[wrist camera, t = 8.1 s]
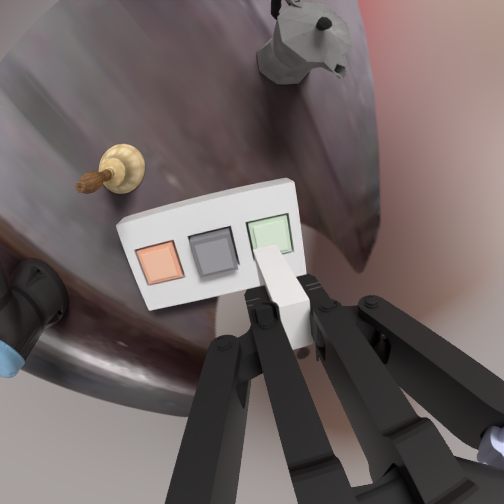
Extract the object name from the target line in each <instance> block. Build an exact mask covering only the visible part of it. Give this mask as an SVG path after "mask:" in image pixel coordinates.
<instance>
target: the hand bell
mask: <svg viewBox="0 0 504 504" xmlns="http://www.w3.org/2000/svg"><path fill="white" fill-rule="evenodd" d="M144 173H145V162H144V159H143V156H142V155H141V153H140V152H139V151H138V150H137V149H136V148H135V147H133V146H131V145H128V144H118V145H115V146H113V147H111V148H110V149H108V150H107V151H106V152H105V154H104V155H103V156H102V159H101V161H100V165H99V172H98V171H91V172H88V173H85V174H84V175H83V176H82V177H81V178H80V180H79V181H78V183H77V184H76V190H77V192H79V193H86V194H89V193H93V192H95V191H96V190H98V189H99V188H100V187H101V186H102V184H103V185H104V186H105V187H106V188H107V189H108V190H110V191H112V192H114V193H118V194H124V193H128V192H131V191H132V190H134V189H135V188H136V187H137V186H138V185H139V184H140V183H141V181H142V179H143V177H144Z"/></svg>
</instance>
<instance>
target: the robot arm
mask: <svg viewBox="0 0 504 504" xmlns="http://www.w3.org/2000/svg"><path fill="white" fill-rule="evenodd" d="M253 253H254V258H255V263H256V268H257V273H258V278H259V283H260V286H259V287H255V288H251V289H247V291H246V293H245V295H244V296H245V300H246V304H247V309H248V313H249V318H250V322H251V327H250V329H249V330H248V332H247V333H245V334H244V335H242V336H240V337H238V338H237V337H235V336H233V335H222V336H219V337H217V338H215V339H214V340H213V341H212V342H211V344H210V345H209V348H208V352H207V355H206V359H205V362H204V365H203V369H202V372H201V376H200V379H199V382H198V386H197V389H196V393H195V396H194V400H193V403H192V407H191V410H190V414H189V417H188V421H187V425H186V428H185V432H184V435H183V439H182V442H181V446H180V449H179V453H178V456H177V460H176V464H175V467H174V471H173V475H172V478H171V482H170V486H169V489H168V493H167V497H166V501H165V504H235V502H236V495H237V487H238V480H239V473H240V466H241V458H242V450H243V443H244V435H245V426H246V419H247V411H248V403H249V395H250V387H251V379H253V378H255V377H257V376H258V375H260V374H262V373H263V374H264V378H265V382H266V386H267V390H268V394H269V397H270V402H271V405H272V409H273V413H274V417H275V421H276V424H277V428H278V432H279V436H280V440H281V443H282V447H283V451H284V454H285V458H286V462H287V465H288V469H289V473H290V477H291V480H292V483H293V487H294V491H295V494H296V498H297V501H298V504H504V381H503V380H502V379H501V378H499V377H498V376H496V375H495V374H494V373H492V372H491V371H489V370H488V369H487V368H485V367H484V366H483V365H481V364H480V363H478V362H477V361H475V360H474V359H473V358H471V357H470V356H468V355H467V354H465V353H464V352H462V351H461V350H460V349H458V348H457V347H455V346H454V345H452V344H451V343H450V342H448V341H447V340H445V339H444V338H442V337H441V336H439V335H438V334H436V333H435V332H433V331H432V330H430V329H429V328H427V327H426V326H424V325H423V324H421V323H420V322H418V321H417V320H415V319H414V318H412V317H410V316H409V315H408V314H406V313H404V312H403V311H401V310H400V309H399V308H397V307H395V306H394V305H392V304H391V303H389V302H388V301H386V300H385V299H383V298H381V297H379V296H375V295H369V296H365V297H362V298H361V299H360V300H359V302H358V305H357V306H342V305H341V304H340V303H339V302H338V301H336V300H333V299H331V298H330V297H329V296H328V294H327V293H326V291H325V290H324V289H323V287H322V286H321V285H320V283H319V282H318V280H317V279H316V278H315V277H314V276H312V275H310V274H305V275H301V276H297V277H296V276H295V275H294V273H293V271H292V270H291V268H290V267H289V265H288V263H287V262H286V260H285V258H284V257H283V255H282V254H281V252H280V250H279V249H278V247H277V245H276V244H275V245H270V246H266V247H262V248H257V249H253ZM67 306H68V297H67V292H66V289H65V287H64V284H63V282H62V281H61V279H60V277H59V276H58V274H57V273H56V272H55V271H54V270H53V269H52V268H51V267H50V266H49V265H48V264H46V263H45V262H43V261H41V260H38V259H35V258H28V259H25V260H23V261H22V262H21V263H19V264H18V265H17V266H16V267H15V269H14V270H13V272H12V274H11V277H10V279H9V281H8V280H7V278H6V275H5V273H4V270H3V267H2V265H1V262H0V376H1V377H4V378H11V377H14V376H15V375H16V374H17V373H18V371H19V370H20V369H21V367H22V366H23V365H24V363H25V360H26V358H27V357H28V355H29V353H30V352H31V350H32V348H33V347H34V345H35V343H36V342H37V340H38V339H39V337H40V335H41V334H42V332H43V331H44V330H46V329H47V328H49V327H51V326H52V325H54V324H56V323H57V322H58V321H59V320H60V319H61V318H62V317H63V315H64V314H65V312H66V310H67ZM382 334H383V335H384V336H383V335H382ZM312 337H313V339H314V341H315V344H316V360H317V361H319V358H320V360H321V362H322V364H323V366H324V368H325V370H326V373H327V375H328V377H329V379H330V381H331V383H332V385H333V387H334V389H335V392H336V394H337V396H338V398H339V400H340V402H341V404H342V406H343V409H344V411H345V413H346V415H347V417H348V419H349V421H350V423H351V425H352V428H353V430H354V432H355V434H356V437H357V439H358V441H359V443H360V445H361V447H362V450H363V452H364V454H365V456H366V458H367V461H368V464H369V471H370V476H371V479H372V481H373V484H368V485H363V486H358V487H351V486H350V483H349V481H348V478H347V476H346V474H345V471H344V468H343V466H342V464H341V462H340V460H339V459H338V458H337V457H336V456H335V455H334V453H333V450H332V448H331V445H330V443H329V441H328V438H327V435H326V433H325V430H324V428H323V425H322V423H321V420H320V417H319V415H318V413H317V410H316V408H315V405H314V402H313V400H312V398H311V395H310V392H309V390H308V387H307V385H306V382H305V380H304V377H303V375H302V372H301V369H300V367H299V364H298V362H297V359H296V357H295V354H294V352H293V350H294V349H297V348H301V347H304V346H308V345H311V344H313V339H312ZM399 387H401V388H402V389H403V390H404V391H405V392H406V393H407V394H408V395H409V396H411V397H412V398H413V399H414V400H415V401H416V402H418V404H420V405H421V406H422V407H423V408H424V409H425V410H427V411H428V412H429V413H430V414H431V415H432V416H433V417H434V418H435V419H437V420H438V421H439V422H440V423H441V424H442V425H443V426H444V427H446V428H447V429H448V430H449V431H450V432H451V433H452V434H453V435H455V436H456V437H457V438H458V439H460V440H461V441H462V442H464V443H465V444H467V445H469V446H471V447H472V448H475V449H477V450H479V452H478V454H477V460H478V461H479V462H480V463H479V462H474V461H471V460H467V459H463V458H460V457H456V456H454V455H453V453H452V452H451V450H450V449H449V447H448V445H447V444H446V443H445V440H444V439H443V437H442V436H441V434H440V433H439V431H438V429H437V428H436V426H435V425H434V423H433V422H432V421H431V420H430V419H428V418H425V417H424V418H421V417H419V416H418V415H417V414H416V412H415V411H414V409H413V408H412V406H411V405H410V403H409V402H408V400H407V398H406V397H405V395H404V394H403V392H402V391H401V389H400V388H399ZM484 462H486V463H487V464H488V465H487V464H482V463H484Z"/></svg>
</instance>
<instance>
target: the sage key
mask: <svg viewBox="0 0 504 504" xmlns="http://www.w3.org/2000/svg"><path fill="white" fill-rule="evenodd" d="M247 226H248V231H249V236H250V241H251V246H252V250H253V249H257V248H262V247H266V246H270V245H275V244H276V245H277V247H278V249H279V250H280V252H281V253H285V252H289V251H292V249H291V242H290V235H289V228H288V221H287V216H286V215H285V214H280V215H276V216H271V217H266V218H262V219H258V220H253V221H249V222H247ZM253 254H254V253H253Z"/></svg>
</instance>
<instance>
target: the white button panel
mask: <svg viewBox="0 0 504 504" xmlns="http://www.w3.org/2000/svg"><path fill="white" fill-rule="evenodd" d="M280 214H285V215H286V216H287V221H288V228H289V235H290V242H291V249H292V251H289V252H285V253H281V254H282V255H283V257H284V258H285V260H286V262H287V263H288V265H289V267H290V268H291V270H292V271H293V273H294V275H295V276H296V277H297V276H301V275H305V274H306V267H305V258H304V250H303V241H302V234H301V226H300V218H299V211H298V204H297V197H296V190H295V184H294V181H292V180H290V179H288V178H281V179H276V180H271V181H266V182H261V183H256V184H252V185H247V186H242V187H238V188H233V189H229V190H224V191H220V192H216V193H212V194H208V195H203V196H199V197H195V198H191V199H187V200H184V201H180V202H176V203H172V204H168V205H165V206H161V207H158V208H154V209H150V210H147V211H143V212H140V213H137V214H133V215H130V216H127V217H124V218H123V219H122V220H121V221H120V222H119V223H118V224H117V225H116V228H117V231H118V234H119V237H120V239H121V242H122V245H123V248H124V250H125V253H126V256H127V259H128V261H129V264H130V266H131V269H132V271H133V274H134V276H135V279H136V281H137V284H138V286H139V288H140V291H141V293H142V296H143V298H144V300H145V302H146V305H147V307H148V309H149V311H150V310H155V309H159V308H164V307H169V306H174V305H179V304H183V303H188V302H193V301H197V300H202V299H206V298H211V297H215V296H220V295H223V294H228V293H232V292H236V291H241V290H245V289H249V288H254V287H258V286H260V283H259V278H258V273H257V268H256V263H255V258H254V254H253V250H252V246H251V241H250V236H249V231H248V226H247V222H249V221H253V220H258V219H262V218H266V217H271V216H276V215H280ZM225 227H229V231H230V235H231V239H232V244H233V248H234V252H235V256H236V261H237V265H238V270H233V271H229V272H225V273H221V274H216V275H212V276H208V277H203V278H200V275H199V272H198V269H197V266H196V262H195V259H194V256H193V252H192V249H191V246H190V238H191V236H192V235H196V234H200V233H204V232H208V231H212V230H217V229H221V228H225ZM170 240H174V242H175V246H176V249H177V252H178V255H179V258H180V261H181V264H182V267H183V270H184V273H183V277H179V278H175V279H170V280H166V281H162V282H157V283H153V284H149V283H148V280H147V278H146V275H145V272H144V270H143V267H142V265H141V262H140V259H139V257H138V254H137V251H138V249H139V248H143V247H146V246H150V245H154V244H158V243H162V242H166V241H170Z"/></svg>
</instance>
